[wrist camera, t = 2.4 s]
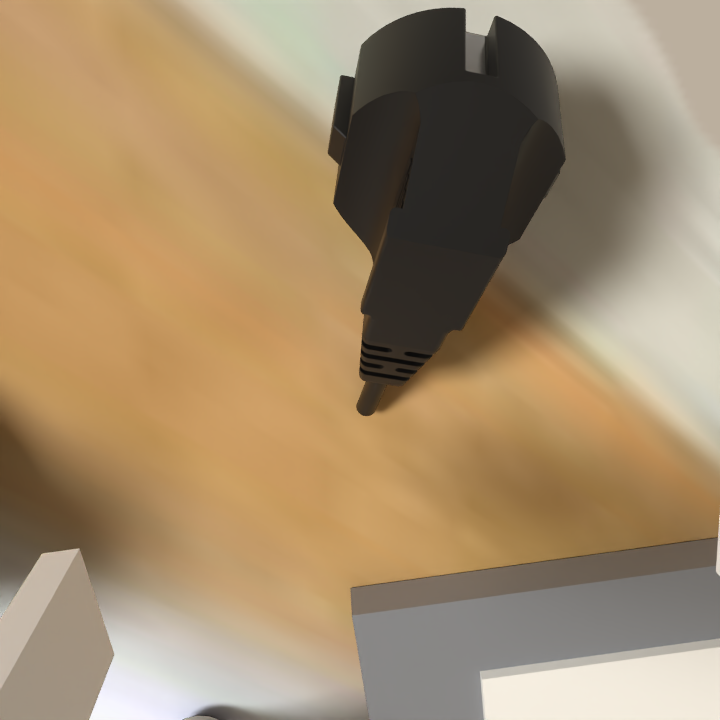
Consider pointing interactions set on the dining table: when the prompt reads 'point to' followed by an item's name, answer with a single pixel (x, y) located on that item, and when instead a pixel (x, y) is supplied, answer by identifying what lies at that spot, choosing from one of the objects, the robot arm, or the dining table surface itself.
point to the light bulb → (200, 718)
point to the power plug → (438, 175)
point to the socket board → (548, 640)
